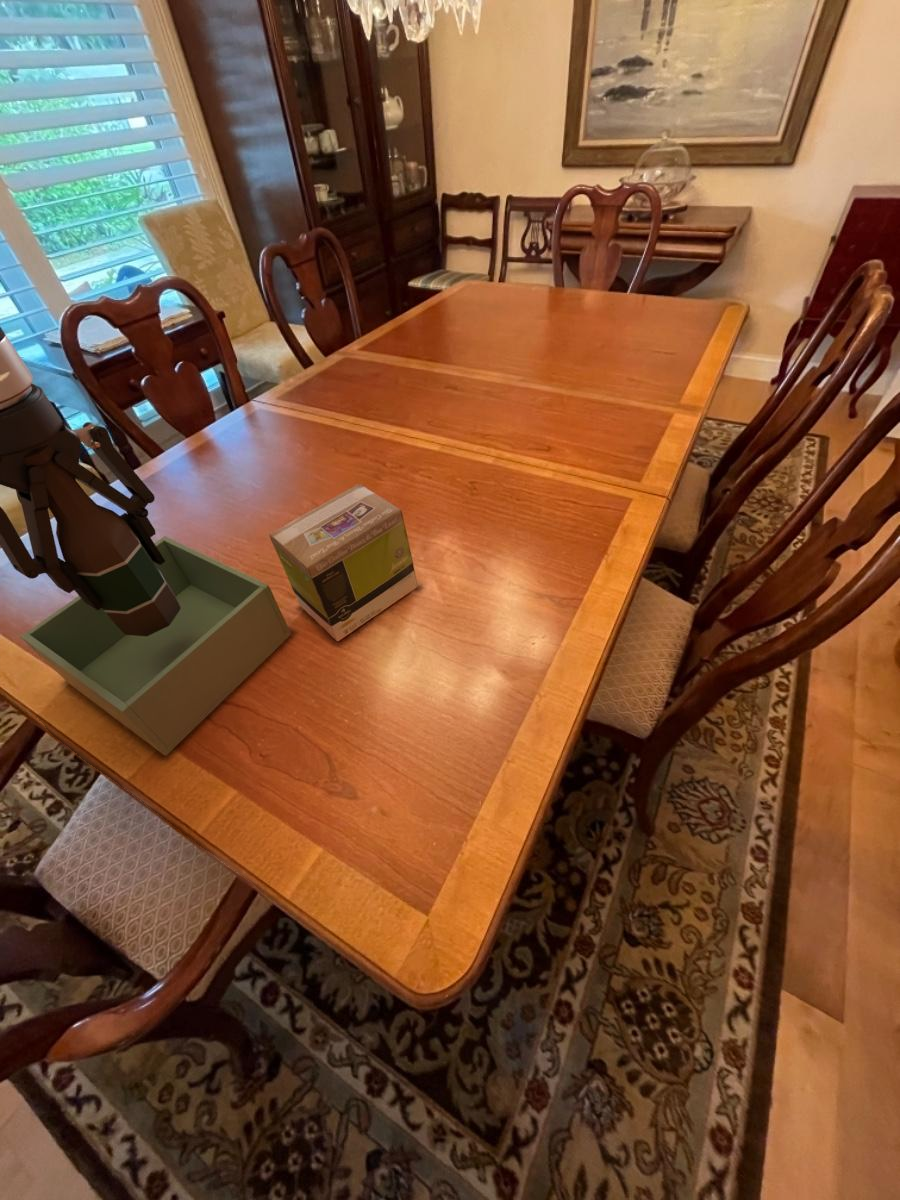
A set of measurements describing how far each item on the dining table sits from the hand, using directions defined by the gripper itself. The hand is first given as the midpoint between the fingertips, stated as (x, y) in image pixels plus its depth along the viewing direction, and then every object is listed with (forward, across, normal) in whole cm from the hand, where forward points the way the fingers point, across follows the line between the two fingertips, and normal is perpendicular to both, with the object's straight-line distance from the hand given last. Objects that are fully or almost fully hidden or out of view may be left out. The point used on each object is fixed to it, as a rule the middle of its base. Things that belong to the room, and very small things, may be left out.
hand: (126, 581), depth 64 cm
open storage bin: (+15, 0, 0) cm, 15 cm away
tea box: (+15, +21, -15) cm, 30 cm away
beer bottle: (+6, 0, 0) cm, 6 cm away
